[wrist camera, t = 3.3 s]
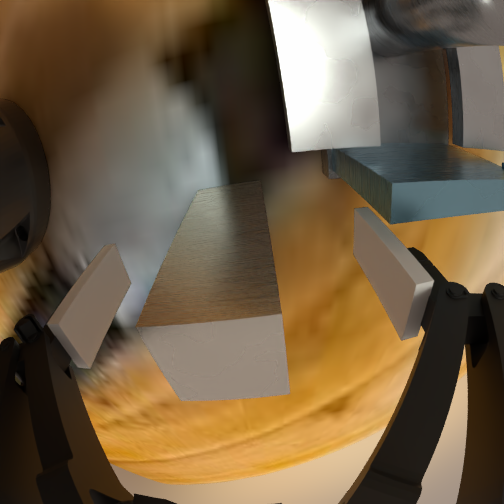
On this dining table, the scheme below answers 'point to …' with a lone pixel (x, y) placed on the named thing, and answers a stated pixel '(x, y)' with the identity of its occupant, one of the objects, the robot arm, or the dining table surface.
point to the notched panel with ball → (396, 99)
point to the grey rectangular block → (219, 302)
